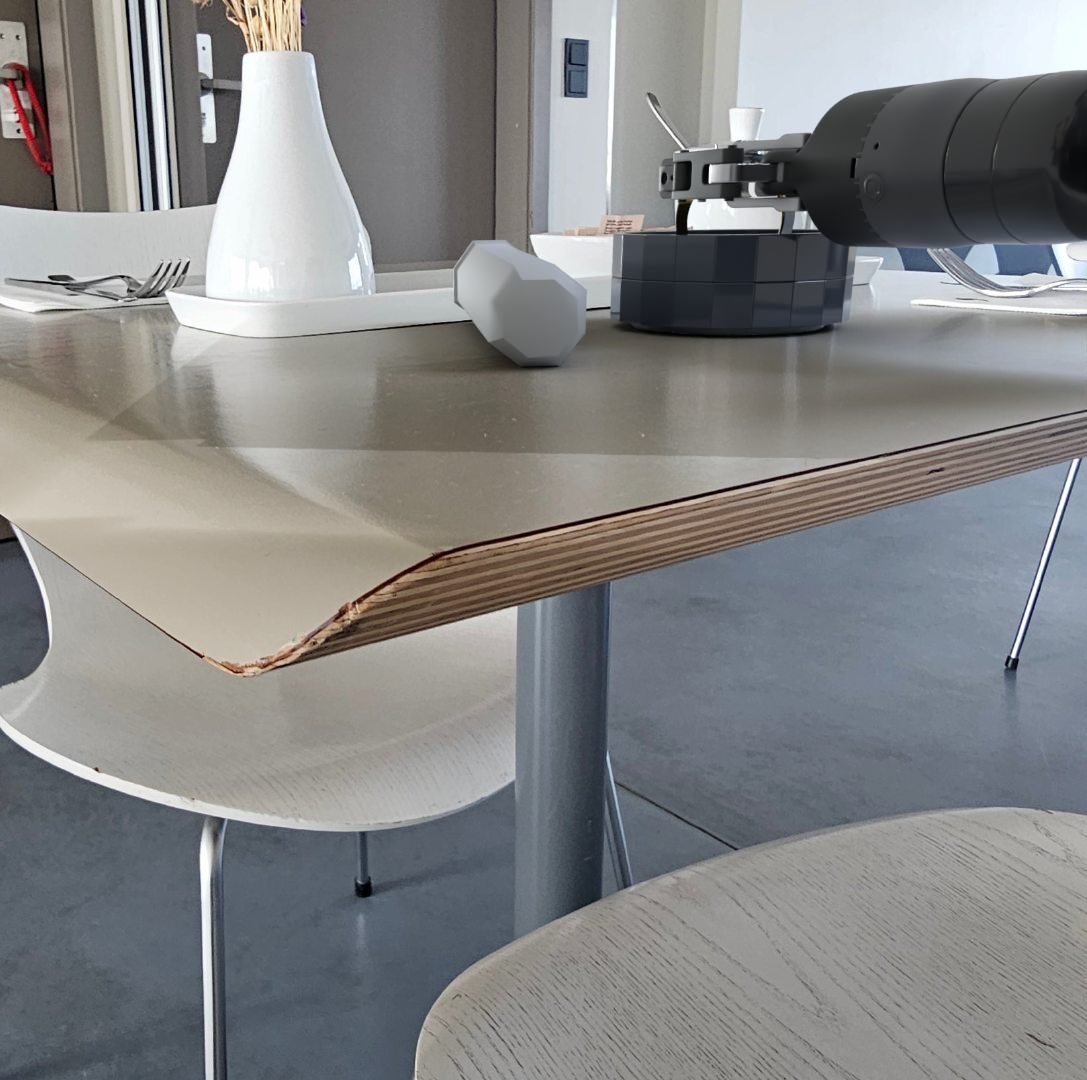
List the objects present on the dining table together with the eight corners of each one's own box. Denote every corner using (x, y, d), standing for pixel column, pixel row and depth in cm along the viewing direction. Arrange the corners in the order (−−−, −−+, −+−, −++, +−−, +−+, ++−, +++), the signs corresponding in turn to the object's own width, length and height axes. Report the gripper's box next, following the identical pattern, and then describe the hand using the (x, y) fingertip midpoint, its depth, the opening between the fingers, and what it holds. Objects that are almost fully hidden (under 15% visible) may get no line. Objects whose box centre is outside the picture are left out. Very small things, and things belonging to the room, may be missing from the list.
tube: (617, 279, 53) (543, 253, 76) (505, 241, 52) (465, 226, 75) (577, 394, 54) (517, 333, 78) (468, 359, 54) (440, 308, 77)
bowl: (745, 311, 81) (751, 227, 79) (899, 329, 69) (910, 230, 67) (568, 322, 76) (570, 232, 74) (702, 343, 63) (708, 236, 62)
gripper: (1039, 85, 59) (810, 112, 73) (814, 78, 53) (614, 109, 67) (1016, 243, 61) (799, 239, 75) (800, 253, 56) (610, 247, 70)
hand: (713, 178), depth 71 cm, fingers closed on ring, 6 cm apart
